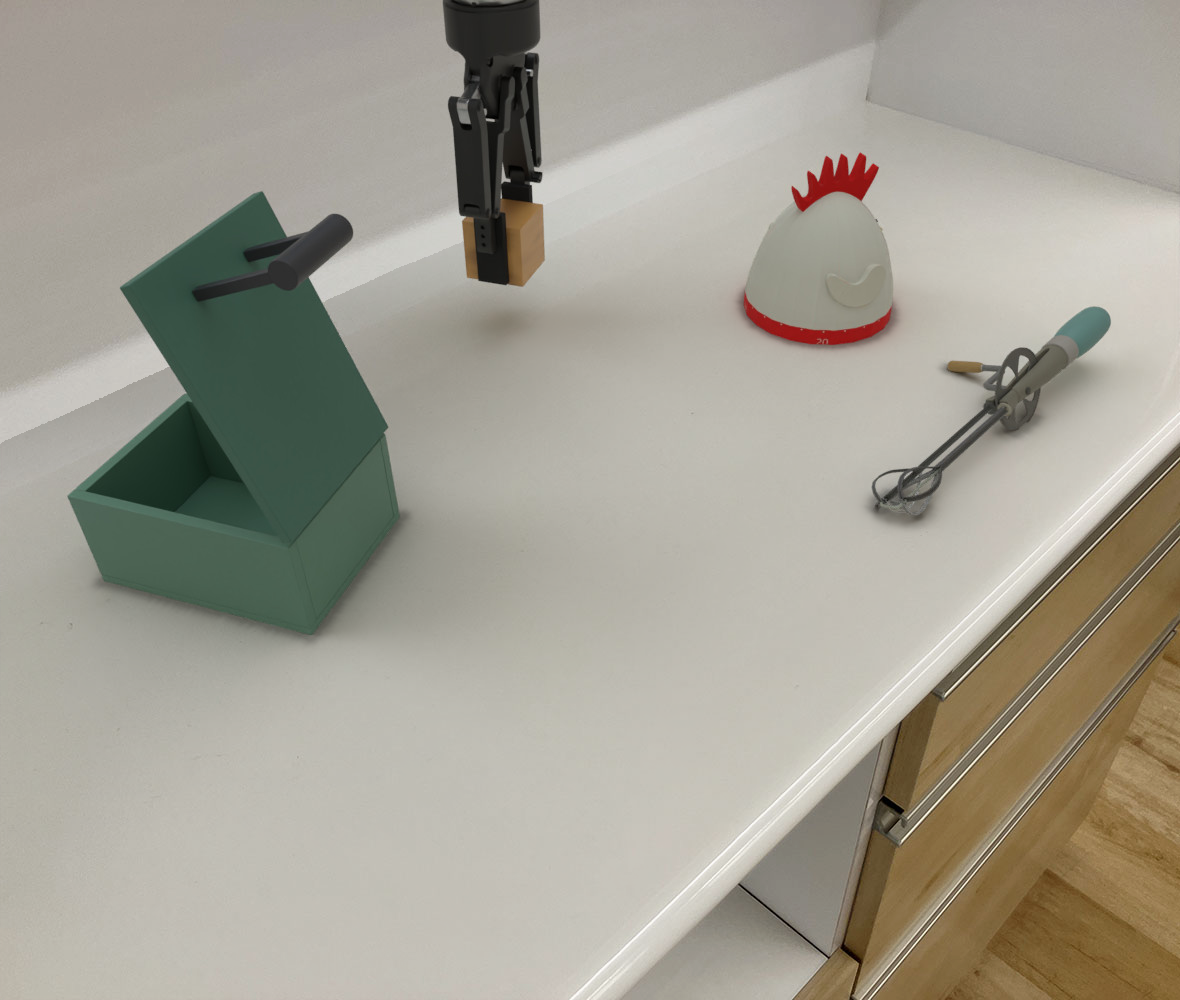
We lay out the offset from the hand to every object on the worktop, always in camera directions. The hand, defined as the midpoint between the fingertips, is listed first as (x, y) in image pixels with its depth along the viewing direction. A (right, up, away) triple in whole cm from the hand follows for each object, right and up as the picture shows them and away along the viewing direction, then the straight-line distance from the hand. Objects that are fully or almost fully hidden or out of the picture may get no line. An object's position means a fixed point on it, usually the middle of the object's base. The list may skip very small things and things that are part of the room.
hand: (507, 265), depth 96 cm
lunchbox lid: (-12, -13, -32) cm, 37 cm away
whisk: (+38, -15, -9) cm, 42 cm away
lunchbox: (-16, -25, -20) cm, 36 cm away
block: (0, 0, 0) cm, 0 cm away
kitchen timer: (+29, -3, +5) cm, 30 cm away
